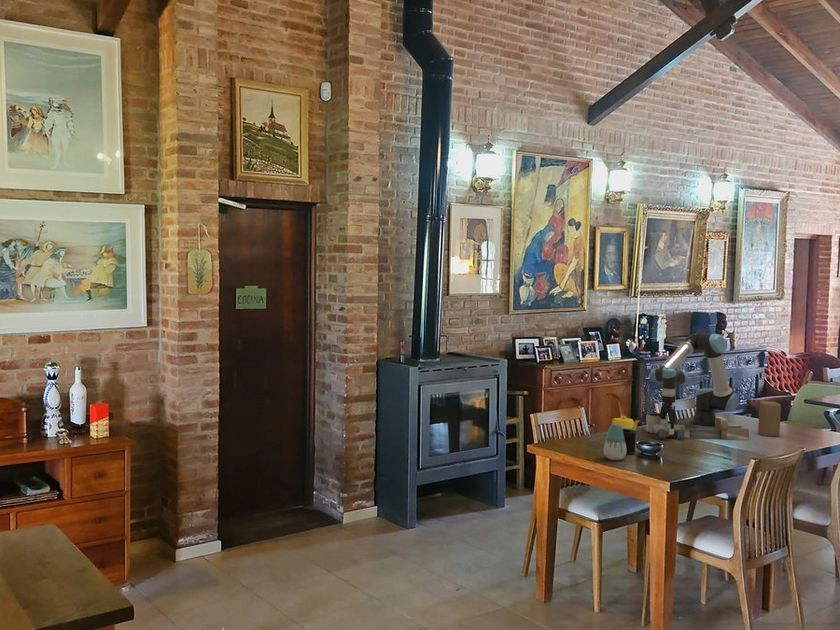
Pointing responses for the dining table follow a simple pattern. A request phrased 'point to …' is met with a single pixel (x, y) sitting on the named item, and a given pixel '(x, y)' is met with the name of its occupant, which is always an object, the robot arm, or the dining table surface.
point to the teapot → (625, 423)
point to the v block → (662, 435)
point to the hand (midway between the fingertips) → (667, 432)
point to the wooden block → (769, 418)
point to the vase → (615, 443)
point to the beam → (721, 432)
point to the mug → (630, 440)
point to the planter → (653, 421)
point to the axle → (667, 428)
